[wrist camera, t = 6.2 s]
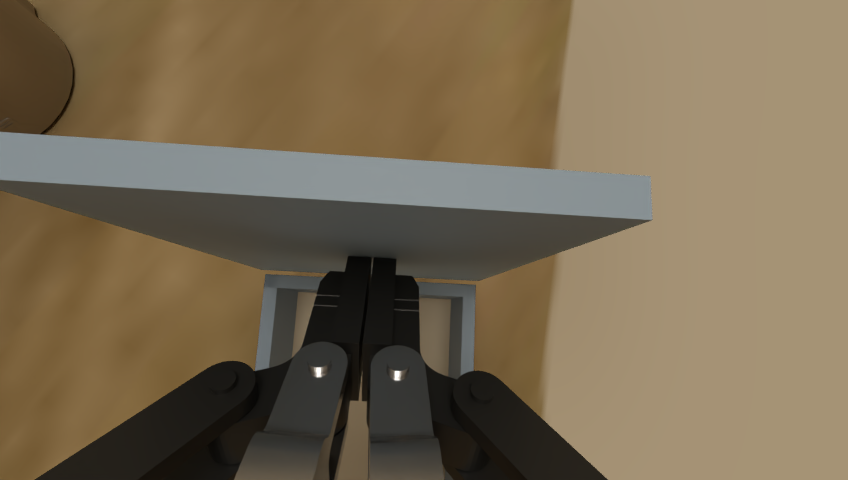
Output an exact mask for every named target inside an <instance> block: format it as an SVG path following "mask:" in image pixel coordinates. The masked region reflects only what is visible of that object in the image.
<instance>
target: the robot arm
mask: <svg viewBox="0 0 848 480" xmlns="http://www.w3.org/2000/svg"><path fill="white" fill-rule="evenodd" d="M72 78H73V68H72V63H71V59H70V55H69V53H68V51H67V49H66V47H65V45H64V43H63V42H62V40H61V39H60V38H59V37H58V36H57V35H56V33H55V32H54V31H53V30H51V29H50V28H49V27H48V26H47V25H45V24H44V23H43V22H42V21H40V20H39V19H38V18H37V17H36V15H35V10H34V6H33V5H32V4H31V3H30V2H28V1H27V0H0V132H9V133H24V134H41V133H42V132H43V131H44V130H45V129H47V128H48V127H49V126H50V125H51V124H52V123H53V122H54V120H55V119H56V118H57V117H58V115H59V114H60V113H61V111H62V110H63V108H64V106H65V104H66V102H67V100H68V98H69V94H70V91H71V87H72ZM396 260H397V259H390V258H374V260H373V268H372V275H371V264H372V258H371V257H358V256H348V259H347V263H346V268H345V272H342V271H329V272H328V274H327V275H326V276H325V277H324V278H323V279H322V280H321V281H320V284H319V287H318V291H317V296H316V298H315V301H314V306H313V308H312V312H311V316H310V319H309V323H308V326H307V330H306V333H305V337H304V340H303V344H302V346H301V348H300V350H299V351H298V352H297V353H296V354H295V355H294V356H293V357H292V358H291V359H290V360H288V361H286V362H285V363H283V364H280V365H278V366H274V367H270V368H266V369H261V370H257V371H253V369H252V368H251V367H250V366H248V365H247V364H245V363H243V362H238V361H226V362H221V363H218V364H215V365H213V366H211V367H209V368H207V369H206V370H204V371H203V372H201V373H199V374H198V375H196V376H195V377H193V378H192V379H190V380H189V381H187V382H185V383H184V384H182V385H181V386H179V387H178V388H176V389H175V390H173V391H172V392H170V393H168V394H167V395H165V396H164V397H162V398H161V399H159V400H158V401H156V402H154V403H153V404H151V405H150V406H148V407H147V408H145V409H144V410H142V411H141V412H139V413H137V414H136V415H134V416H133V417H131V418H130V419H128V420H127V421H125V422H123V423H122V424H120V425H119V426H117V427H116V428H114V429H113V430H111V431H110V432H108V433H106V434H105V435H103V436H102V437H100V438H99V439H97V440H96V441H94V442H92V443H91V444H89V445H88V446H86V447H85V448H83V449H82V450H80V451H78V452H77V453H75V454H74V455H72V456H71V457H69V458H68V459H66V460H65V461H63V462H61V463H60V464H58V465H57V466H55V467H54V468H52V469H51V470H49V471H47V472H46V473H44V474H43V475H41V476H40V477H38V478H37V479H35V480H337V478H338V473H339V468H340V464H341V459H342V454H343V450H344V445H345V441H346V436H347V431H348V413H349V406H350V401H359V393H360V384H361V376H362V401H367V414H366V421H367V425H368V480H444V474H443V467H444V468H445V470H446V471H447V472H448V474H449V475H450V476H451V477H452V478H453V480H607V479H606V478H605V477H604V476H603V475H602V474H601V473H600V472H599V471H598V470H597V469H596V468H595V467H593V466H592V465H591V464H590V463H589V462H588V461H587V460H586V459H585V458H584V457H583V456H582V455H581V454H579V453H578V452H577V451H576V450H575V449H574V448H573V447H572V446H571V445H570V444H569V443H567V442H566V441H565V440H564V439H563V438H562V437H561V436H560V435H559V434H558V433H557V432H556V431H554V429H552V428H551V427H550V426H549V425H548V424H547V423H546V422H545V421H544V420H543V419H542V418H541V417H540V416H538V415H537V414H536V413H535V412H534V411H533V410H532V409H531V408H530V407H529V406H528V405H527V404H525V403H524V402H523V401H522V400H521V399H520V398H519V397H518V396H517V395H516V394H515V393H514V392H513V391H511V390H510V389H509V388H508V387H507V386H506V385H505V384H504V383H503V382H502V381H501V380H499V379H498V378H497V377H495V376H494V375H492V374H490V373H487V372H483V371H470V372H467V373H464V374H463V375H461V376H460V377H459V378H458V379H454V378H451V377H448V376H445V375H442V374H440V373H438V372H436V371H434V370H433V369H431V368H430V367H429V366H428V365H427V364H426V363H425V361H424V360H423V358H422V356H421V352H420V318H419V286H418V285H417V283H416V281H415V280H414V278H413V276H407V275H396ZM442 465H443V466H442Z"/></svg>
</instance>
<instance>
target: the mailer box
mask: <svg viewBox="0 0 848 480" xmlns="http://www.w3.org/2000/svg"><path fill="white" fill-rule="evenodd" d="M323 278H324V277H310V276H290V275H270V274H265V284H264V293H263V302H262V311H261V320H260V329H259V339H258V348H257V357H256V366H255V371H257V370H261V369H266V368H270V367H274V366H278V365H280V364H283V363H285V362H286V361H288V360H290V359H291V358H292V357H293V356H294V355H295V354H296V353H297V352H298V351H299V350H300V348H301V346H302V344H303V340H304V337H305V333H306V330H307V326H308V323H309V319H310V316H311V312H312V308H313V306H314V301H315V298H316V296H317V291H318V287H319V284H320V281H321V280H322V279H323ZM416 283H417V285H418V286H419V318H420V352H421V356H422V358H423V360H424V361H425V363H426V364H427V365H428V366H429V367H430V368H431V369H433V370H434V371H436V372H438V373H440V374H442V375H445V376H448V377H451V378H454V379H458V378H459V377H460V376H461V375H463V374H464V373H467V372H470V371H473V369H474V329H475V289H476V285H467V284H448V283H428V282H416ZM366 414H367V401H362V376H361V384H360V393H359V401H350V406H349V413H348V431H347V436H346V441H345V445H344V450H343V454H342V459H341V464H340V468H339V473H338V478H337V480H368V425H367V421H366ZM442 466H443V465H442ZM443 474H444V480H453V478H452V477H451V476H450V475H449V474H448V472H447V471H446V470H445V468H444V467H443Z"/></svg>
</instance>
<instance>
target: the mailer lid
mask: <svg viewBox="0 0 848 480" xmlns="http://www.w3.org/2000/svg"><path fill="white" fill-rule="evenodd" d="M650 180H651V178H650V176H640V175H625V174H611V173H596V172H581V171H567V170H552V169H537V168H523V167H508V166H493V165H479V164H464V163H449V162H435V161H420V160H405V159H391V158H376V157H361V156H347V155H332V154H317V153H303V152H288V151H273V150H259V149H244V148H229V147H215V146H200V145H185V144H171V143H156V142H141V141H127V140H112V139H97V138H83V137H68V136H53V135H39V134H24V133H9V132H0V190H2V191H5V192H8V193H12V194H15V195H18V196H21V197H25V198H28V199H31V200H35V201H38V202H41V203H44V204H48V205H51V206H54V207H57V208H61V209H64V210H67V211H71V212H74V213H77V214H80V215H84V216H87V217H90V218H94V219H97V220H100V221H103V222H107V223H110V224H113V225H116V226H120V227H123V228H126V229H130V230H133V231H136V232H139V233H143V234H146V235H149V236H153V237H156V238H159V239H162V240H166V241H169V242H172V243H175V244H179V245H182V246H185V247H189V248H192V249H195V250H198V251H202V252H205V253H208V254H212V255H215V256H218V257H221V258H225V259H228V260H231V261H234V262H238V263H241V264H244V265H248V266H251V267H254V268H257V269H261V270H277V271H297V272H316V273H328V272H329V271H342V272H345V268H346V263H347V259H348V256H358V257H371V258H372V264H371V275H372V268H373V260H374V258H390V259H397V260H396V275H407V276H413V277H414V278H433V279H453V280H472V281H479V280H482V279H485V278H488V277H491V276H494V275H497V274H499V273H502V272H505V271H508V270H511V269H514V268H517V267H520V266H522V265H525V264H528V263H531V262H534V261H537V260H540V259H542V258H545V257H548V256H551V255H554V254H557V253H560V252H562V251H565V250H568V249H571V248H574V247H577V246H580V245H582V244H585V243H588V242H591V241H594V240H597V239H600V238H602V237H605V236H608V235H611V234H614V233H617V232H620V231H622V230H625V229H628V228H631V227H634V226H637V225H639V224H642V223H645V222H648V221H651V220H652V200H651V181H650Z"/></svg>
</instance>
